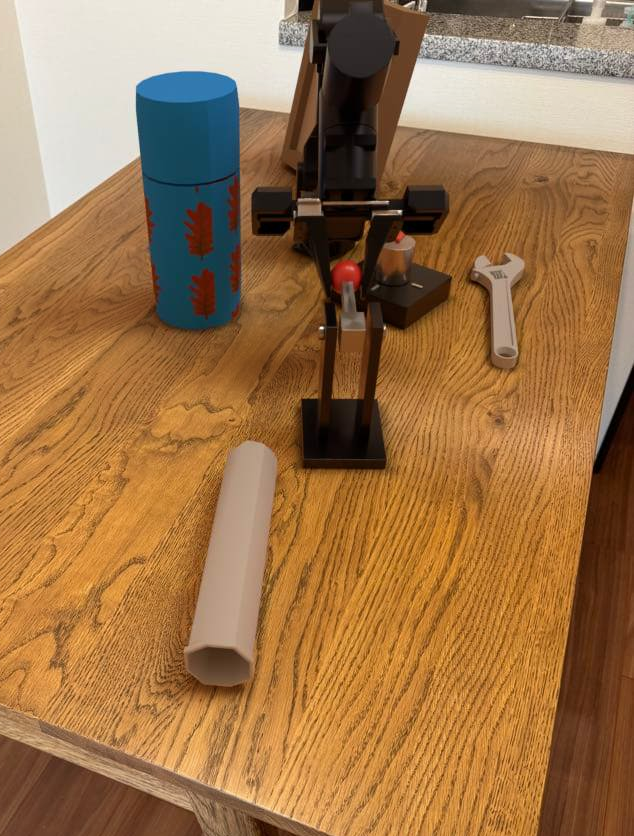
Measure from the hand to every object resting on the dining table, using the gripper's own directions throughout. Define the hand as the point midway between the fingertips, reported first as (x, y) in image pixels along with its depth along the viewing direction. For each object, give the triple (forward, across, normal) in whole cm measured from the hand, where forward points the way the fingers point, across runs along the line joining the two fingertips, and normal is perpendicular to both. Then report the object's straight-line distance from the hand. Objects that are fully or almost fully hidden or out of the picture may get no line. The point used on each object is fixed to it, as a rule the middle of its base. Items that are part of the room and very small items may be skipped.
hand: (345, 298), depth 76 cm
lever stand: (+13, 0, -3) cm, 13 cm away
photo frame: (-34, -6, -49) cm, 60 cm away
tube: (+26, +10, +10) cm, 29 cm away
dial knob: (-9, -8, -20) cm, 23 cm away
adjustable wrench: (-5, -20, -20) cm, 29 cm away
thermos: (-5, +16, -21) cm, 27 cm away
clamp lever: (+2, 0, +2) cm, 3 cm away
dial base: (-7, -8, -22) cm, 24 cm away
